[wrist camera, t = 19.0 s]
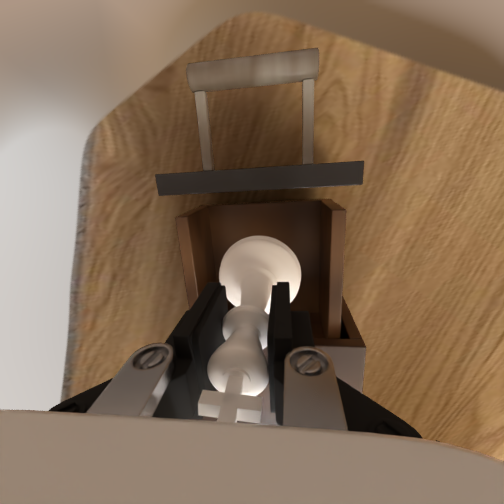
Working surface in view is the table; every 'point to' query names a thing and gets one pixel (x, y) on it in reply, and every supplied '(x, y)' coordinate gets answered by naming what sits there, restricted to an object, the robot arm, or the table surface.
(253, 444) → the robot arm
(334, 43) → the table surface
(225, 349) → the chess piece
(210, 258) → the drawer
